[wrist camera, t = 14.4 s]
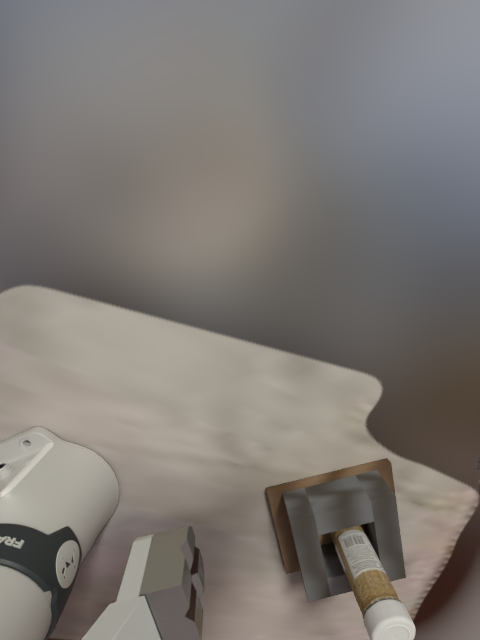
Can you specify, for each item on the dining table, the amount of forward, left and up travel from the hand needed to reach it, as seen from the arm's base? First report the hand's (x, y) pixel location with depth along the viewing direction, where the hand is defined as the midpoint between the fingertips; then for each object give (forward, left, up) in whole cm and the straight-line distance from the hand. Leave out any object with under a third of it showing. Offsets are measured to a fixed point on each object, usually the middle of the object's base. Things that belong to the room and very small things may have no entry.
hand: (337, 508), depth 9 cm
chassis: (+6, -32, -29) cm, 44 cm away
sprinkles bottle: (+6, -32, -28) cm, 43 cm away
